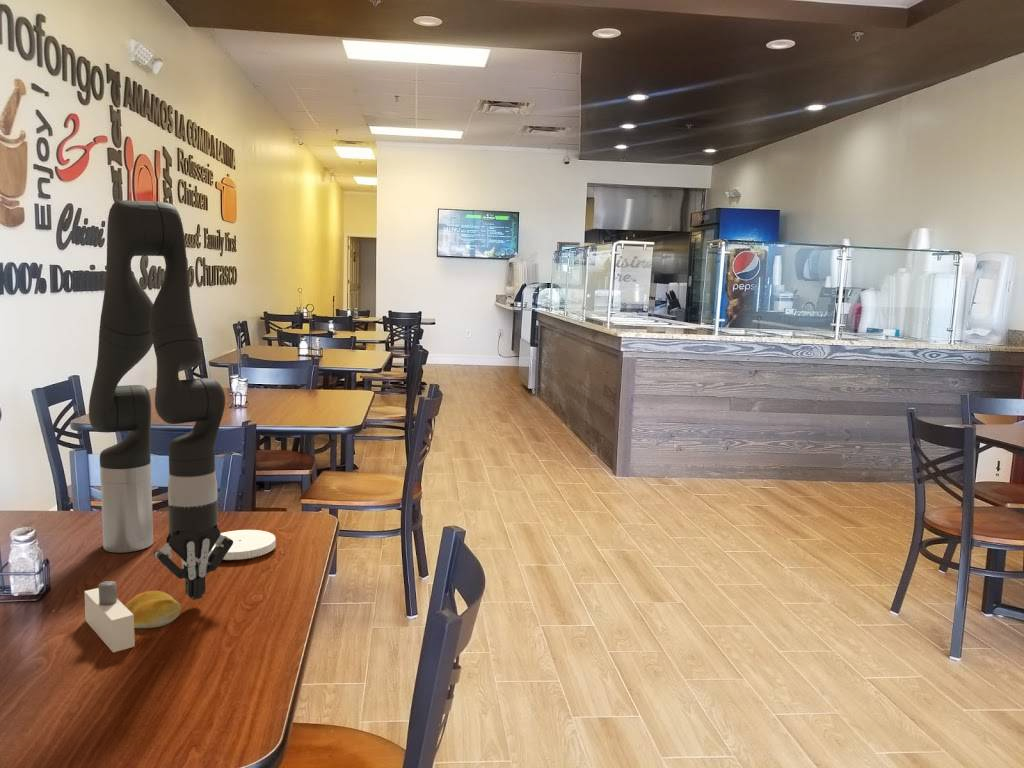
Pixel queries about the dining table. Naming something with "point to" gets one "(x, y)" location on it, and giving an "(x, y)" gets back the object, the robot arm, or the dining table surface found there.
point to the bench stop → (109, 617)
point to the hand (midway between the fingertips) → (195, 597)
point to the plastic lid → (248, 544)
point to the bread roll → (153, 609)
